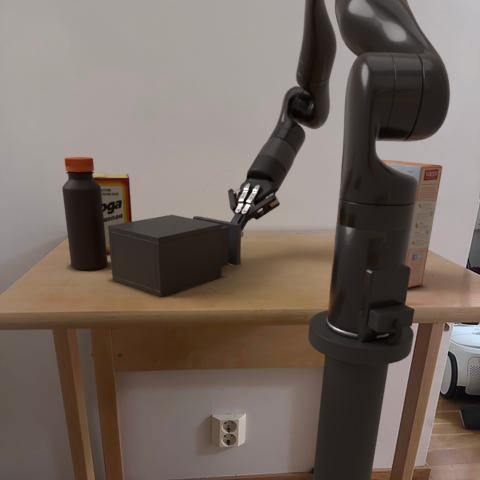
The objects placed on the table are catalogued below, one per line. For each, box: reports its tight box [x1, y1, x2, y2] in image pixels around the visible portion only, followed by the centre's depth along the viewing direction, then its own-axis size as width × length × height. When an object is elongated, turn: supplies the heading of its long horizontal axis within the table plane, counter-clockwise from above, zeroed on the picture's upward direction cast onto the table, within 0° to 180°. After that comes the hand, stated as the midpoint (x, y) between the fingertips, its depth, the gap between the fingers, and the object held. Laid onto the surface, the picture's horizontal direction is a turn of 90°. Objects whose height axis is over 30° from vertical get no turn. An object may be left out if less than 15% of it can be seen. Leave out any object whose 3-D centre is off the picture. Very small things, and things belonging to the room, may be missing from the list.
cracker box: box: [381, 159, 443, 289], centre depth 87 cm, size 14×6×21 cm, turn 32°
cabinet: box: [108, 214, 222, 298], centre depth 86 cm, size 15×13×10 cm
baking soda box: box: [93, 172, 133, 255], centre depth 103 cm, size 10×6×16 cm
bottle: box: [61, 156, 108, 271], centre depth 91 cm, size 7×7×20 cm
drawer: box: [192, 215, 244, 268], centre depth 93 cm, size 18×12×8 cm, turn 140°
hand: (233, 231), depth 99 cm, fingers closed
